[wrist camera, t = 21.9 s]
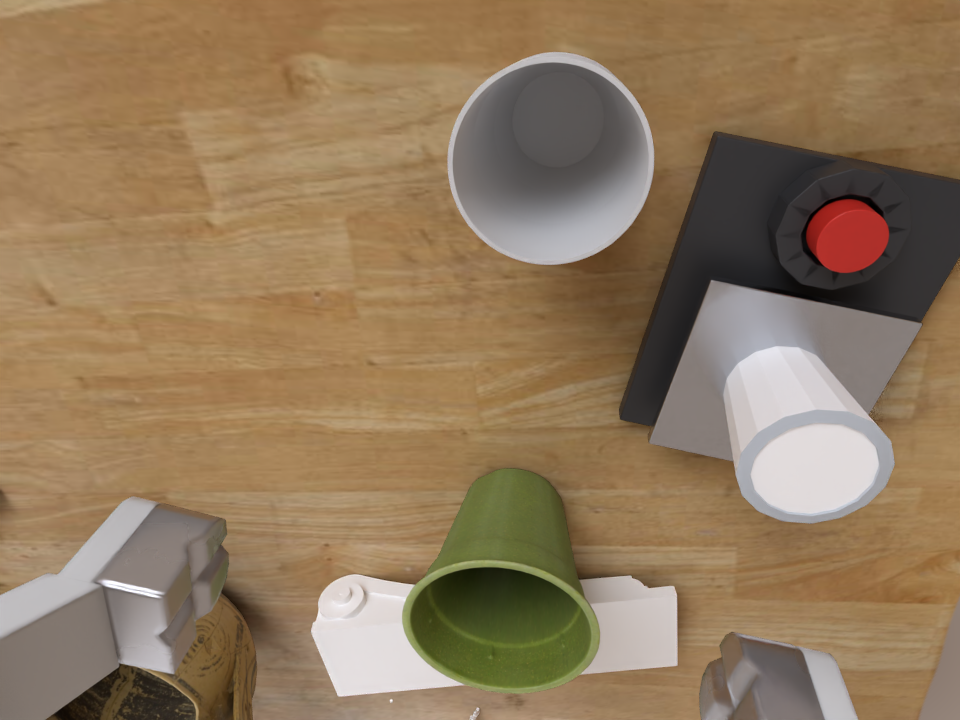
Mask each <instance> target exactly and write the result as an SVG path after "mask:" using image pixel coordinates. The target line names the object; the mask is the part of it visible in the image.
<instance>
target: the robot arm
mask: <svg viewBox="0 0 960 720" xmlns="http://www.w3.org/2000/svg"><path fill="white" fill-rule="evenodd" d="M226 535H227V528H226V520H225V519H222V518H219V517H215V516H211V515H207V514H203V513H199V512H195V511H192V510H188V509H184V508H180V507H176V506H172V505H168V504H164V503H159V502H155V501H151V500H147V499H142V498H138V497H134V496H132V497H130V498H128V499H126V500H125V501H123V502H121V503H120V504H119V506H118V507H117V508H116V509H115V510H114V511H113V512H112V513H111V515H110V516H109V517H108V518H107V519H106V520H105V521H104V523H103V524H102V525H101V526H100V527H99V528H98V529H97V530H96V532H95V533H94V534H93V535H92V536H91V537H90V538H89V539H88V541H87V542H86V543H85V544H84V545H83V546H82V547H81V549H80V550H79V551H78V552H77V553H76V554H75V555H74V556H73V558H72V559H71V560H70V561H69V562H68V563H67V564H66V565H65V567H64V568H63V569H62V570H61V571H60V572H59V573H58V575H57V574H52V573H46V574H44V575H42V576H40V577H38V578H36V579H34V580H31V581H29V582H27V583H25V584H23V585H21V586H19V587H17V588H14V589H12V590H10V591H8V592H6V593H4V594H2V595H0V720H46V719H47V718H48V717H50V716H51V715H53V714H54V713H55V712H57V711H58V710H59V709H61V708H62V707H64V706H65V705H66V704H68V703H69V702H71V701H72V700H73V699H75V698H76V697H78V696H79V695H80V694H82V693H83V692H85V691H86V690H87V689H89V688H90V687H92V686H93V685H94V684H96V683H97V682H99V681H100V680H101V679H103V678H104V677H106V676H107V675H108V674H110V673H111V672H113V671H114V670H115V669H117V668H118V667H119V663H121V664H126V665H131V666H136V667H141V668H146V669H151V670H155V671H160V672H165V673H170V674H174V673H175V672H176V670H177V668H178V667H179V665H180V663H181V662H182V660H183V658H184V657H185V655H186V653H187V652H188V650H189V648H190V646H191V645H192V643H193V641H194V640H195V638H196V636H197V634H196V623H195V621H196V620H198V619H199V618H201V617H203V616H204V615H206V614H208V613H209V612H211V611H212V609H213V607H214V605H215V604H216V602H217V600H218V598H219V596H220V594H221V591H222V589H223V586H224V583H225V581H226V578H227V572H228V565H229V559H228V553H227V551H226V550H225V549H224V548H223V546H222V545H221V543H222V542H223V540H224V538H225V537H226ZM720 651H721V656H722V657H721V658H719V659H717V660H714V661H712V662H710V663H709V664H708V666H707V668H706V670H705V672H704V674H703V676H702V682H701V687H700V693H699V701H700V714H701V720H858V717H857V715H856V712H855V709H854V707H853V704H852V701H851V699H850V696H849V693H848V691H847V688H846V686H845V683H844V680H843V678H842V675H841V672H840V670H839V667H838V664H837V662H836V660H835V659H834V658H833V657H832V655H831V654H829V653H825V652H820V651H816V650H811V649H807V648H802V647H798V646H794V645H792V644H787V643H782V642H778V641H773V640H768V639H763V638H759V637H754V636H749V635H744V634H740V633H735V632H731V633H729V634H727V635H726V636H725V637H724V639H723V641H722V642H721V644H720Z"/></svg>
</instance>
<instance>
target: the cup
mask: <svg viewBox="0 0 960 720" xmlns="http://www.w3.org/2000/svg"><path fill="white" fill-rule="evenodd" d="M653 170H654V147H653V140H652V135H651V131H650V128H649V125H648V122H647V119H646V117H645V115H644V113H643V111H642V109H641V107H640V105H639V104H638V102H637V100H636V99H635V98H634V96H633V95H632V94H631V93H630V91H629V90H628V89H627V88H626V87H625V86H624V85H623V84H622V83H621V82H620V81H619V80H618V79H617V78H616V77H615V76H614V75H613V74H612V73H611V72H610V71H609V70H608V69H606V68H605V67H603V66H602V65H600V64H599V63H597V62H595V61H593V60H591V59H589V58H586V57H583V56H580V55H576V54H572V53H564V52H550V53H542V54H538V55H534V56H530V57H528V58H525V59H523V60H521V61H519V62H516V63H514V64H512V65H510V66H508V67H506V68H504V69H502V70H501V71H499V72H497V73H496V74H494V75H493V76H491V77H490V78H489V79H488V80H486V81H485V82H484V83H483V84H482V85H481V86H480V87H479V88H478V89H477V90H476V91H475V92H474V93H473V94H472V96H471V97H470V98H469V99H468V101H467V102H466V104H465V105H464V107H463V109H462V110H461V112H460V114H459V116H458V118H457V120H456V123H455V125H454V128H453V131H452V135H451V138H450V143H449V150H448V176H449V182H450V187H451V191H452V194H453V197H454V200H455V202H456V205H457V207H458V209H459V211H460V213H461V214H462V216H463V218H464V219H465V221H466V222H467V224H468V225H469V226H470V227H471V229H472V230H473V231H474V232H475V233H476V234H477V235H478V236H479V237H480V238H481V239H482V240H483V241H484V242H486V243H487V244H488V245H489V246H491V247H492V248H494V249H495V250H497V251H499V252H501V253H502V254H504V255H507V256H509V257H511V258H514V259H517V260H520V261H523V262H528V263H533V264H542V265H556V264H565V263H570V262H574V261H578V260H581V259H584V258H587V257H589V256H592V255H594V254H596V253H598V252H599V251H601V250H603V249H604V248H606V247H608V246H609V245H610V244H612V243H613V242H614V241H616V240H617V239H618V238H619V237H620V236H621V235H622V234H623V233H624V232H625V231H626V230H627V229H628V228H629V227H630V225H631V224H632V223H633V221H634V220H635V219H636V217H637V215H638V214H639V212H640V210H641V209H642V207H643V205H644V203H645V200H646V198H647V195H648V193H649V189H650V186H651V182H652V177H653Z"/></svg>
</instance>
